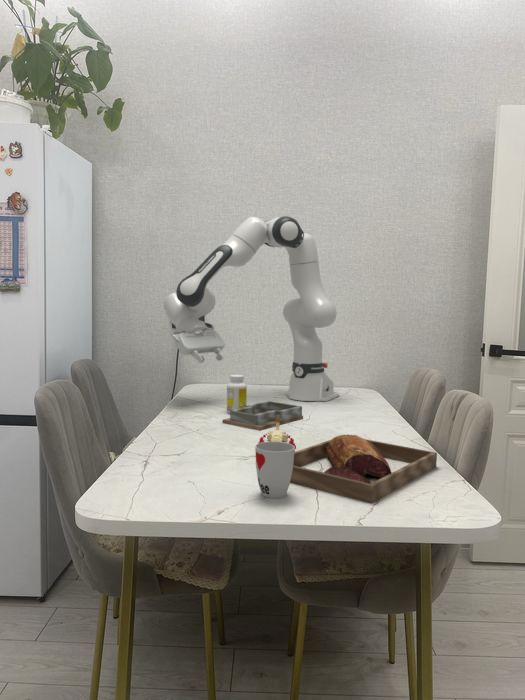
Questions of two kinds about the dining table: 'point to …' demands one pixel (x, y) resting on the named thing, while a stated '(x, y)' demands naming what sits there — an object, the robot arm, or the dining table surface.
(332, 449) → the cured meat
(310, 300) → the robot arm
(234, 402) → the supplement bottle
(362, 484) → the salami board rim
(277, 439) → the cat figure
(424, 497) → the dining table surface
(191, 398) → the dining table surface
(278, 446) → the cup
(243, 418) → the keyhole dock
